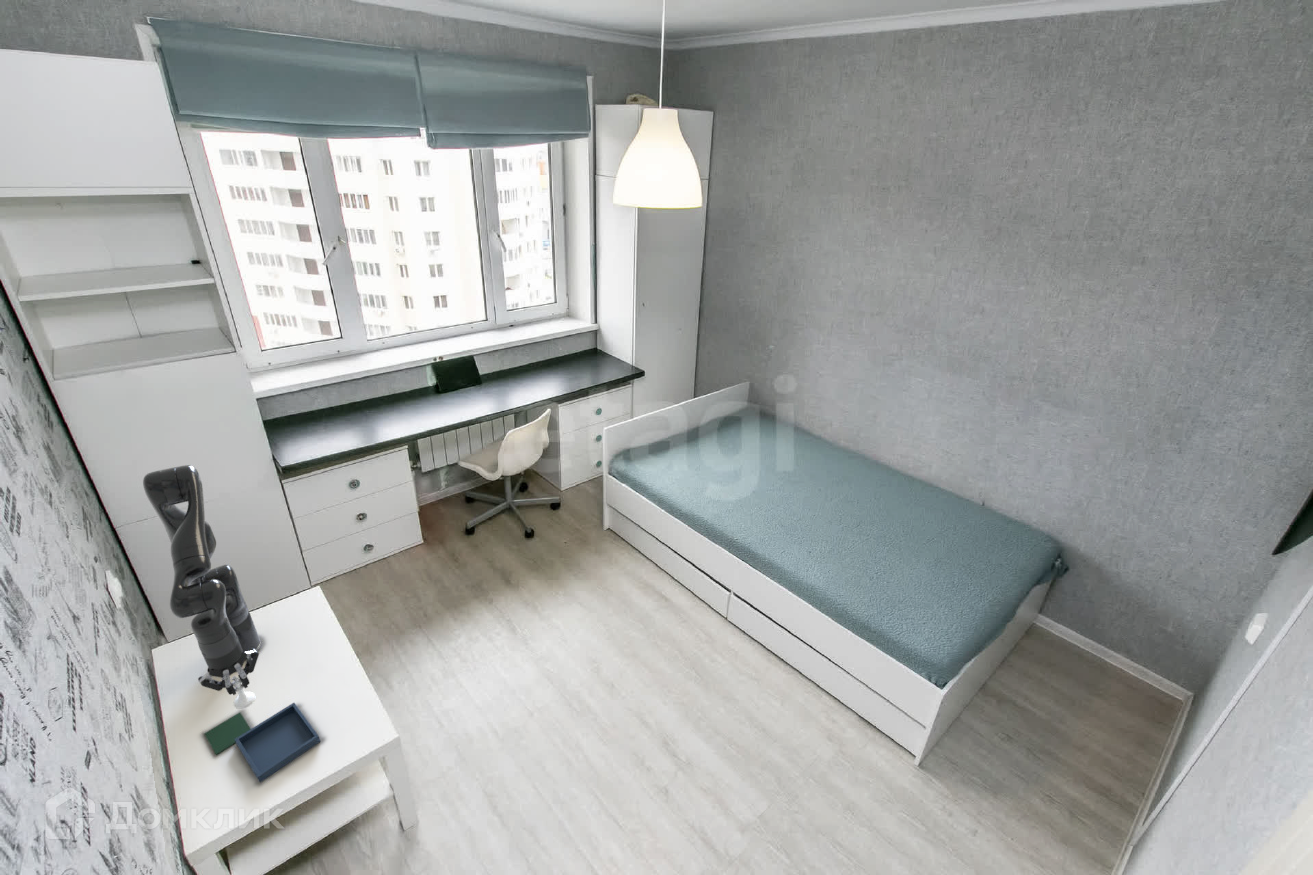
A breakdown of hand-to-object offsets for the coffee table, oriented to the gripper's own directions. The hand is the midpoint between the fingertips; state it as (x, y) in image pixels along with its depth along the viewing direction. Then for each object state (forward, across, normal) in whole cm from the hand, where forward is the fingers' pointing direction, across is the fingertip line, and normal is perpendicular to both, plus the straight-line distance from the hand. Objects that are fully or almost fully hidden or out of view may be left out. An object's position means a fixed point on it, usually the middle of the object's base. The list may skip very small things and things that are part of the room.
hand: (239, 689), depth 157 cm
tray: (+20, -2, +6) cm, 22 cm away
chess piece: (+5, 0, 0) cm, 5 cm away
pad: (+21, +5, -7) cm, 22 cm away
